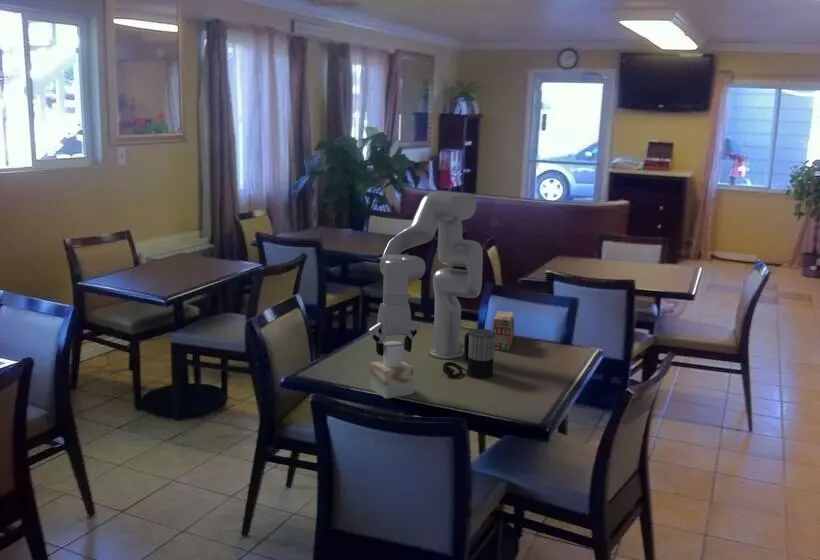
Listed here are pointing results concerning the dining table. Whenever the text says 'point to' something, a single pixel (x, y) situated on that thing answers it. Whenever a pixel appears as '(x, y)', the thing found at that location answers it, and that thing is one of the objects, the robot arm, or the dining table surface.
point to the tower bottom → (392, 389)
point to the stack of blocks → (503, 330)
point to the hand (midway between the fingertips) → (393, 352)
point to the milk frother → (476, 355)
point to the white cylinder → (393, 353)
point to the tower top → (391, 373)
